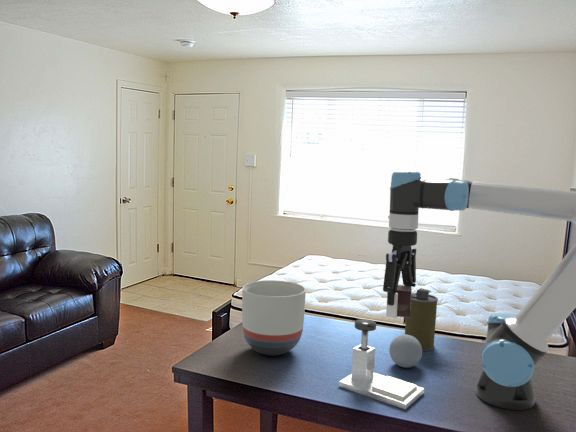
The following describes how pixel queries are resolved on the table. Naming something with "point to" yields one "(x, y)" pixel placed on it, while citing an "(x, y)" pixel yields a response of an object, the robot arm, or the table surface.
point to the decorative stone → (405, 350)
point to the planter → (273, 315)
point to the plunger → (365, 330)
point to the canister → (422, 318)
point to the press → (378, 381)
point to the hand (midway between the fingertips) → (398, 312)
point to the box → (403, 301)
